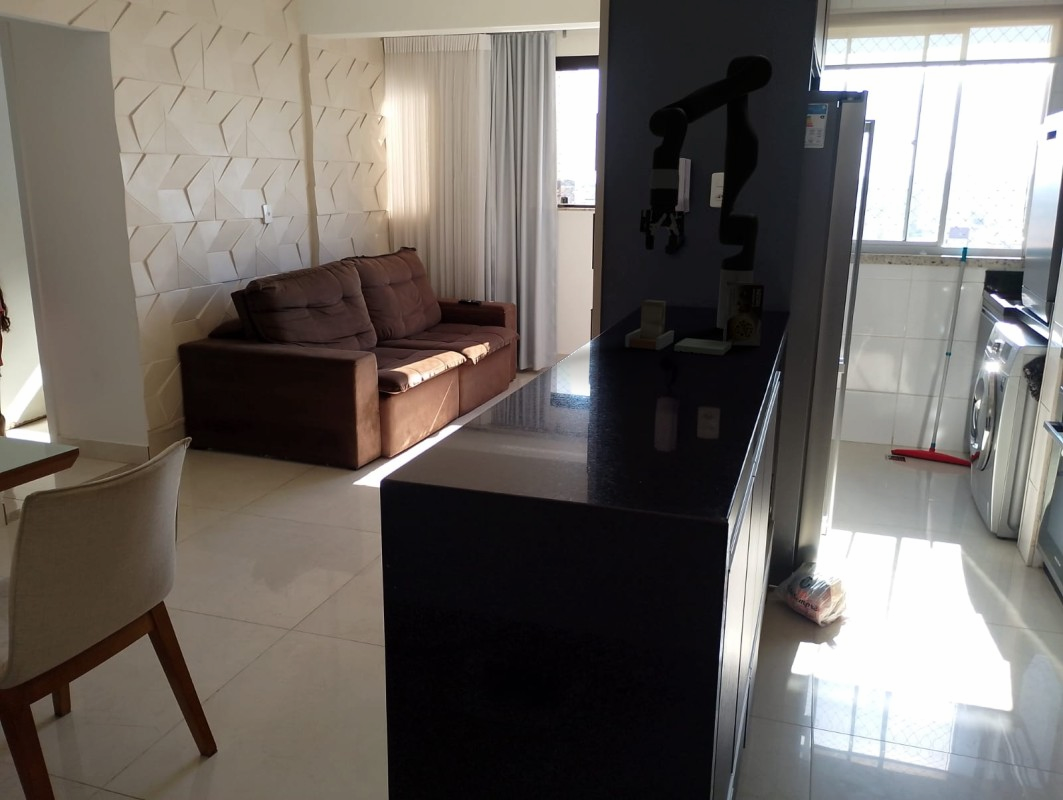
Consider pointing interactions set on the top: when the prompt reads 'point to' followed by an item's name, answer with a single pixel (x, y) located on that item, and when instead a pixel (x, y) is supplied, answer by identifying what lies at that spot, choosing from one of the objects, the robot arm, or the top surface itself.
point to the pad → (703, 346)
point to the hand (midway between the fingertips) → (660, 249)
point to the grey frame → (648, 340)
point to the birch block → (652, 319)
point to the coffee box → (743, 313)
